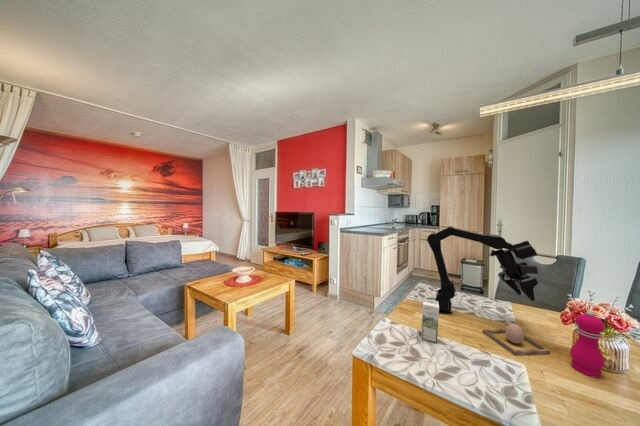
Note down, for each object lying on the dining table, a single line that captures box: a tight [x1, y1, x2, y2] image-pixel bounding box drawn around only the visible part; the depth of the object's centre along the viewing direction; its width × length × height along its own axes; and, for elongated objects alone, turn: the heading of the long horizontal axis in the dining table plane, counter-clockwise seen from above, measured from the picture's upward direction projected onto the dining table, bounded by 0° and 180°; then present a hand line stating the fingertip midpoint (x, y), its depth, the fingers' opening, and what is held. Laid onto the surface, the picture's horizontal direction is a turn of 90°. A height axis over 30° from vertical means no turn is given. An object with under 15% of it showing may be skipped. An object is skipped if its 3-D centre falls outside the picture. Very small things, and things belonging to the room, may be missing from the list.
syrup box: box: [420, 298, 440, 344], centre depth 88 cm, size 6×6×14 cm
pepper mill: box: [569, 310, 606, 378], centre depth 72 cm, size 7×7×20 cm
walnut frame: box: [482, 328, 551, 357], centre depth 87 cm, size 14×14×1 cm
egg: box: [505, 323, 524, 345], centre depth 86 cm, size 5×5×7 cm
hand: (526, 297), depth 95 cm, fingers open, 9 cm apart
